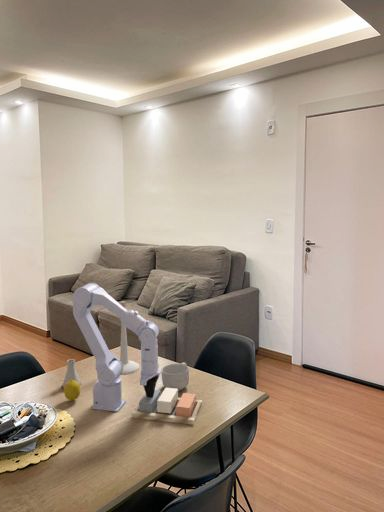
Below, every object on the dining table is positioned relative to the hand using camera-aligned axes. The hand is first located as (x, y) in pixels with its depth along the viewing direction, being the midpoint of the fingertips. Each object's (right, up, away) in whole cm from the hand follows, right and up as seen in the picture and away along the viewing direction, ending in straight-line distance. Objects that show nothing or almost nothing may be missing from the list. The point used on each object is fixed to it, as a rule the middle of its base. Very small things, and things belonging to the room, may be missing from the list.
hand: (150, 396), depth 142 cm
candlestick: (-15, 0, +35) cm, 38 cm away
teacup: (+9, -2, +18) cm, 20 cm away
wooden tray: (+6, -5, -1) cm, 8 cm away
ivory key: (+6, -3, -1) cm, 7 cm away
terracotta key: (+13, -4, -2) cm, 14 cm away
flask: (-33, -2, +19) cm, 38 cm away
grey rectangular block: (0, -4, 0) cm, 4 cm away
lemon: (-29, -4, +6) cm, 29 cm away
